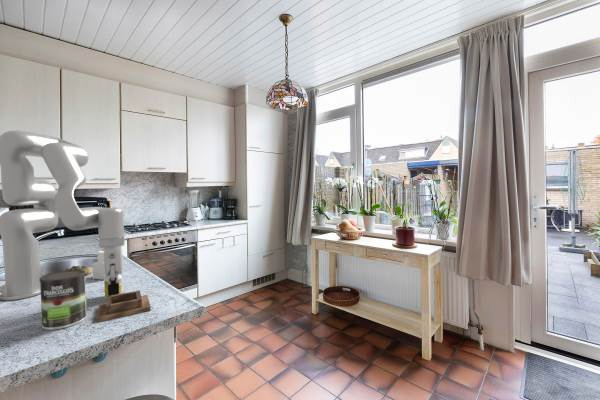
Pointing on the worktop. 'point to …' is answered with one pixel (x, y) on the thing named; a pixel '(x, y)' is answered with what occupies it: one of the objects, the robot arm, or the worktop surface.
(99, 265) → the medicine bottle
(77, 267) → the bread roll
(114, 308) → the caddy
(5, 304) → the worktop surface
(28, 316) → the worktop surface
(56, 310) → the coffee can
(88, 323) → the worktop surface
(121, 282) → the supplement bottle
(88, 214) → the robot arm
